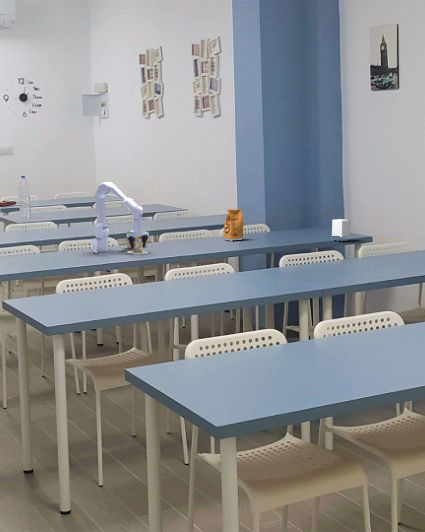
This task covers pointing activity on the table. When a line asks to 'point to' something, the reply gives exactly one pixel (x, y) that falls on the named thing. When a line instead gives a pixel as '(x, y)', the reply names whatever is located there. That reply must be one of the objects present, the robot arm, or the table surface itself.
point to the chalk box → (137, 238)
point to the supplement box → (340, 227)
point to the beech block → (138, 247)
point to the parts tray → (137, 253)
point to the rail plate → (126, 250)
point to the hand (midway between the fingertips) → (137, 248)
